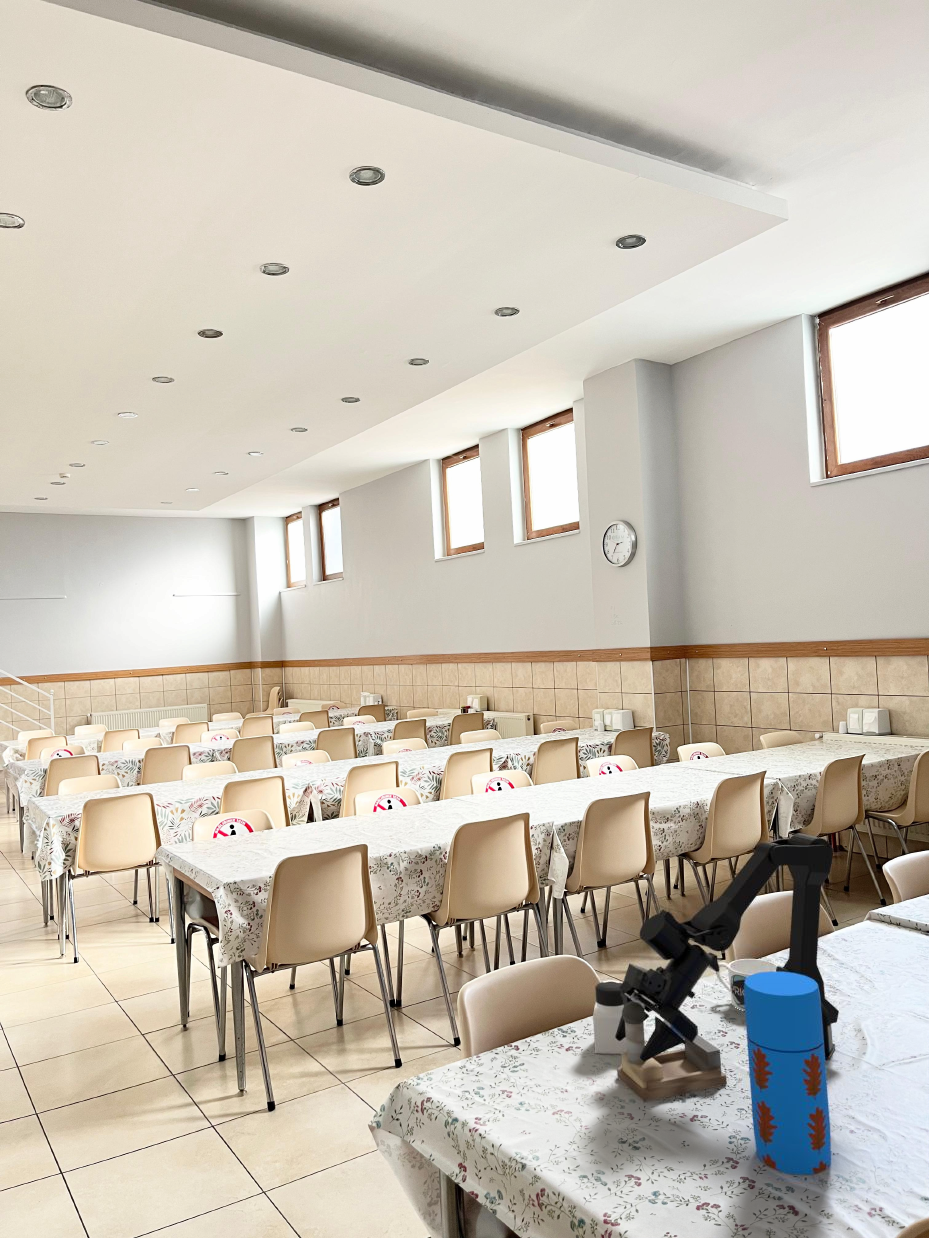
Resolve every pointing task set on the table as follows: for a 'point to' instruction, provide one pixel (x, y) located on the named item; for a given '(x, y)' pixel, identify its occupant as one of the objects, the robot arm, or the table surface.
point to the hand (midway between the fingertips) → (629, 1049)
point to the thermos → (787, 1072)
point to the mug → (742, 976)
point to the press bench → (682, 1071)
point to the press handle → (637, 1048)
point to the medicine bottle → (608, 1018)
